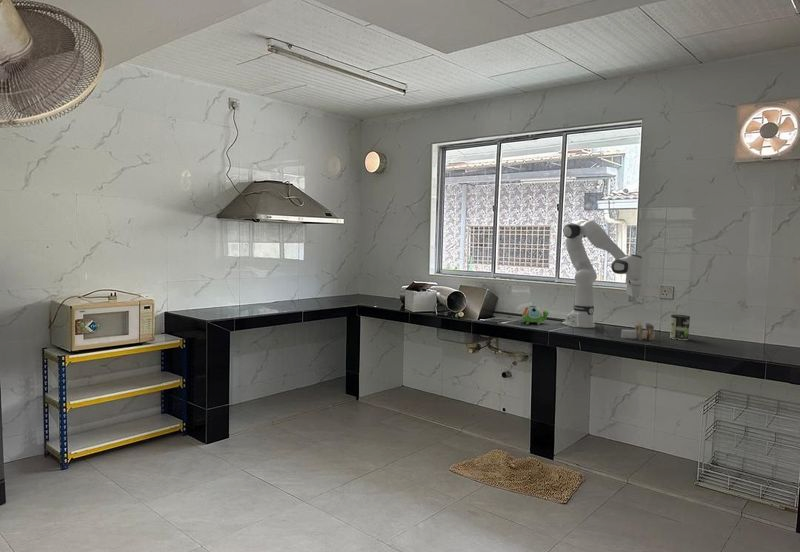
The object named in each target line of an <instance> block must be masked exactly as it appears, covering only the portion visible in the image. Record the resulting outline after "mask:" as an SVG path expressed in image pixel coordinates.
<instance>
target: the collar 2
mask: <svg viewBox="0 0 800 552" xmlns="http://www.w3.org/2000/svg"><path fill="white" fill-rule="evenodd" d="M644 331H649V340H648V341H654V340H653V333H654V332H655V326H654V325H652V324H651V323H649V322H648V323H647V322H646V323H645V330H644Z"/></svg>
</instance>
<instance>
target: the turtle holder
mask: <svg viewBox="0 0 800 552" xmlns="http://www.w3.org/2000/svg"><path fill="white" fill-rule="evenodd" d="M549 313H550V312H549V310H548V309H545V310H543V312H542V310H541V309H540V308H539V306H537V305H527V307H525V308H524V310H523V312H522V319H521V320H522V321H523V322H524V323H525V325H530V323H536V325H541V322H545V321H546V320H547V318H548V315H549Z"/></svg>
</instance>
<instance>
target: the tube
mask: <svg viewBox="0 0 800 552" xmlns="http://www.w3.org/2000/svg"><path fill="white" fill-rule="evenodd" d="M638 331H639V330H635V329H621V333H620V337H621V338H622V339H630V340H631V339H632V340H634V339H636V340H638ZM655 337H656V332H655V331H654V333H653V341H654V340H655ZM648 339H649V331H645V330H643V338H642V340H648Z"/></svg>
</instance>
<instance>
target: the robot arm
mask: <svg viewBox="0 0 800 552" xmlns="http://www.w3.org/2000/svg"><path fill="white" fill-rule="evenodd" d="M562 228H563V229H562V232H563V235H564V237H565V238H564V239H565V240H564V242H565V246H566V250H567V253H568V256H569V259H570V262H571V264H572V266H573V267H574V268H575V269H574V270H575V271H576V273H575V275H574V281H575V290H576V291H575V292H576V298H575V299H576V300H575V304H574V305H573V309H572V310H571V311H570V312H569V313H568V314H566V316H565V320H564V321H562V322H561V324H562V325H564V326H565V325H566V326H569V327H572V328H585V329H586V328H589V329H591V328H595V325H596V324H595V321H594V311H595V306H594V297H595V294H594V288H593V287H594V285H593V284H594V283H595V282H596V280H597V276H598V275H597V272H596V271H595V268H594V266H593V264H592V262H591V261H590V258H589V256H588V253H587V251H586V248H585V246H584V243H583V238H587V240H588V241H589V242H590V244H591V245H593V247H595V248H596V249H600V250H603V251H606V252H607V253H609V254H610V255H611V256H612V257H613V258H614V260H613V261H612V262H611V271H612V272H613V273H615V274H617V275H626V276H625V284H626V288H625V289H626V290H625V294H626V295H627V301H628V303H631V305H635V303H636V301H637V300H636V299H638V298H639V297H640V291H641V286H642V284H643V281H642V277H643V276H642V272H643V270H644V269H643V267H644V260H643V257H642V256H641V255H638V254H635V253H630V254H629V255H626V254H625V252H623V250H622V249H621V248H620V247H619V246H618V245H617V244H616V243H615V241H613V239H611V237H610V236H609V235H608V233H607V231H605V230H604V228H603V227H602V225H600V224H599V223H598V222H597V221H595V220H593V219H587V218H583V219H578V220H575V221H571V222H568V223H566V224H565V225H563V227H562Z"/></svg>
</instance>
